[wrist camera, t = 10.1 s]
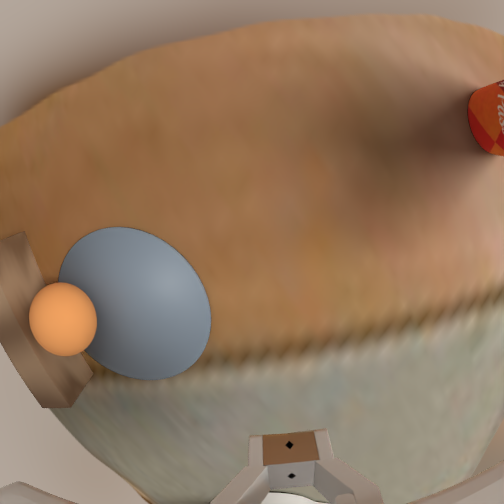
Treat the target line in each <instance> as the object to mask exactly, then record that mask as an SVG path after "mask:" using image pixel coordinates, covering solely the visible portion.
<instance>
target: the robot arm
mask: <svg viewBox="0 0 504 504" xmlns="http://www.w3.org/2000/svg"><path fill="white" fill-rule="evenodd" d="M311 485H313V486H314V487H315V488H316V489H317V490H318V491H319V492H320V493H321V494H322V495H323V496H324V497H325V498H326V499H327V500H328V501H329V502H330V503H331V504H384V502H383V499H382V496H381V493H380V490H379V487H378V486H377V485H376V484H374V483H373V482H372V481H370V480H369V479H367V478H366V477H364V476H363V475H361V474H360V473H359V472H357V471H356V470H354V469H353V468H352V467H350V466H349V465H347V464H346V463H345V462H343V461H342V460H341V459H339V458H338V457H337V458H334V455H333V451H332V447H331V443H330V439H329V435H328V431H327V429H326V428H325V429H318V430H310V431H302V432H294V433H288V434H272V435H250V436H249V451H248V466H247V467H244V468H243V469H242V470H241V471H240V472H239V473H238V474H237V475H236V476H235V477H234V479H233V480H232V481H231V482H230V483H229V484H228V485H227V486H226V487H225V488H224V489H223V490H222V491H221V492H220V493H219V494H218V495H217V496H216V497H215V498H214V499H213V500H212V501H211V502H210V504H329V503H321V502H315V501H312V500H310V499H308V498H305V497H302V496H298V495H293V494H286V493H269V491H270V489H280V488H290V487H301V486H311ZM0 504H77V503H74V502H71V501H68V500H65V499H63V498H60V497H57V496H55V495H52V494H50V493H47V492H44V491H42V490H40V489H38V488H35V487H33V486H31V485H29V484H26V483H23V482H15V483H12V484H9V485H7V486H5V487H2V488H0ZM407 504H504V460H503V461H501V462H500V463H498V464H496V465H494V466H492V467H491V468H488V469H487V470H485V471H483V472H481V473H479V474H477V475H475V476H473V477H471V478H469V479H467V480H465V481H463V482H460V483H458V484H456V485H454V486H452V487H449V488H447V489H445V490H442V491H440V492H437V493H435V494H432V495H429V496H427V497H424V498H421V499H419V500H416V501H413V502H410V503H407Z"/></svg>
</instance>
